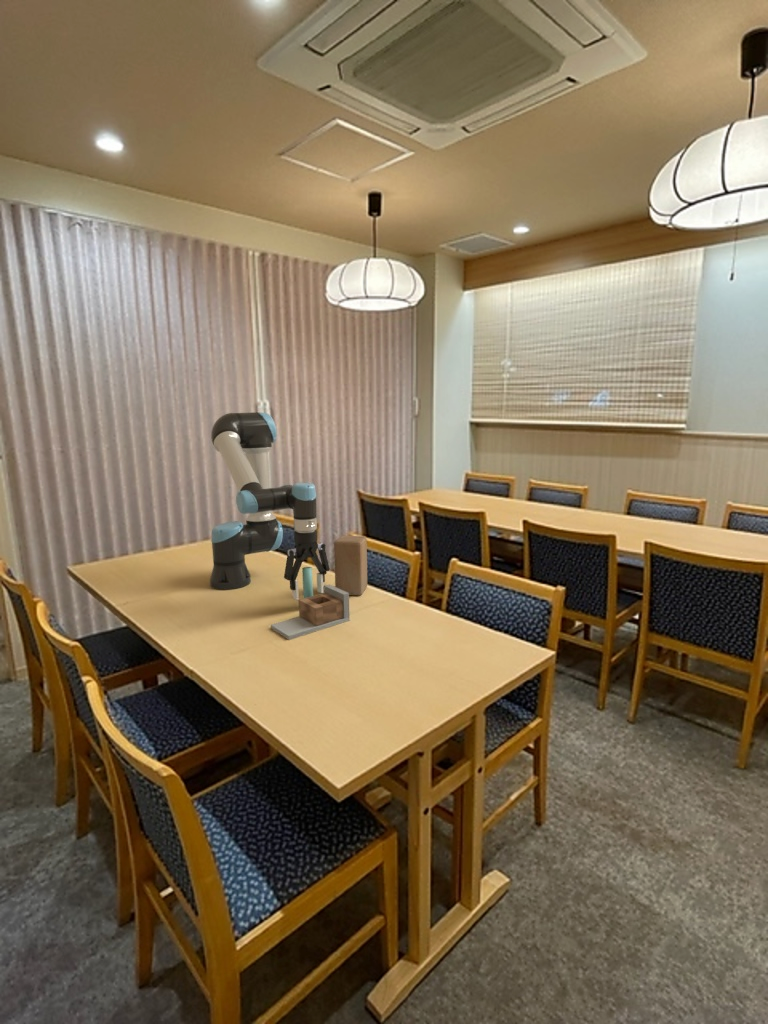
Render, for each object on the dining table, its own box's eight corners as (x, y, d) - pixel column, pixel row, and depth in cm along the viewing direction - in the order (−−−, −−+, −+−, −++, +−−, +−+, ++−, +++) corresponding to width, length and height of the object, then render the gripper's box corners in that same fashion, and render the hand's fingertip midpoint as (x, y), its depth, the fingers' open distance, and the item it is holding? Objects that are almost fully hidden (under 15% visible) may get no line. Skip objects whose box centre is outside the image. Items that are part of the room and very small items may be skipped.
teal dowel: (302, 607, 186) (300, 568, 183) (310, 605, 188) (308, 566, 185) (307, 610, 183) (305, 570, 180) (315, 608, 185) (313, 568, 182)
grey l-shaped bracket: (270, 628, 169) (269, 600, 167) (330, 610, 183) (329, 584, 181) (288, 639, 161) (287, 610, 159) (349, 620, 174) (348, 593, 173)
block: (361, 596, 196) (360, 542, 192) (334, 594, 198) (333, 541, 194) (368, 587, 205) (367, 535, 201) (342, 585, 207) (340, 534, 203)
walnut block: (299, 616, 174) (298, 599, 173) (325, 608, 181) (325, 592, 180) (316, 625, 167) (315, 608, 166) (343, 617, 173) (342, 600, 172)
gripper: (282, 537, 170) (285, 606, 175) (339, 527, 184) (341, 590, 189) (270, 533, 176) (273, 599, 181) (326, 523, 190) (328, 585, 194)
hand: (308, 595), depth 185 cm, fingers open, 9 cm apart
